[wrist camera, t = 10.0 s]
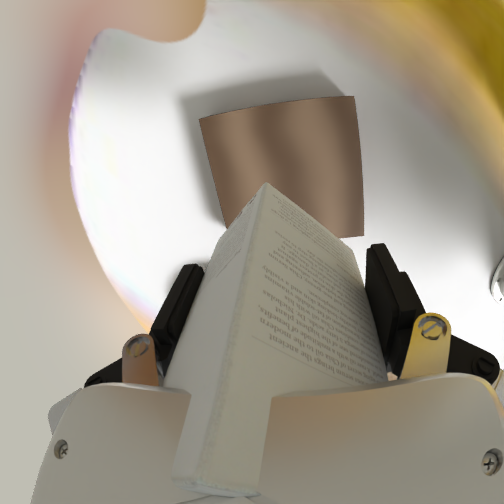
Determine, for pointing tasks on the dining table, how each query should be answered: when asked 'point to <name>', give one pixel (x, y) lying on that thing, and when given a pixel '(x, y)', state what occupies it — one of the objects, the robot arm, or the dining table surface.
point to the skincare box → (266, 339)
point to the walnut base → (291, 159)
